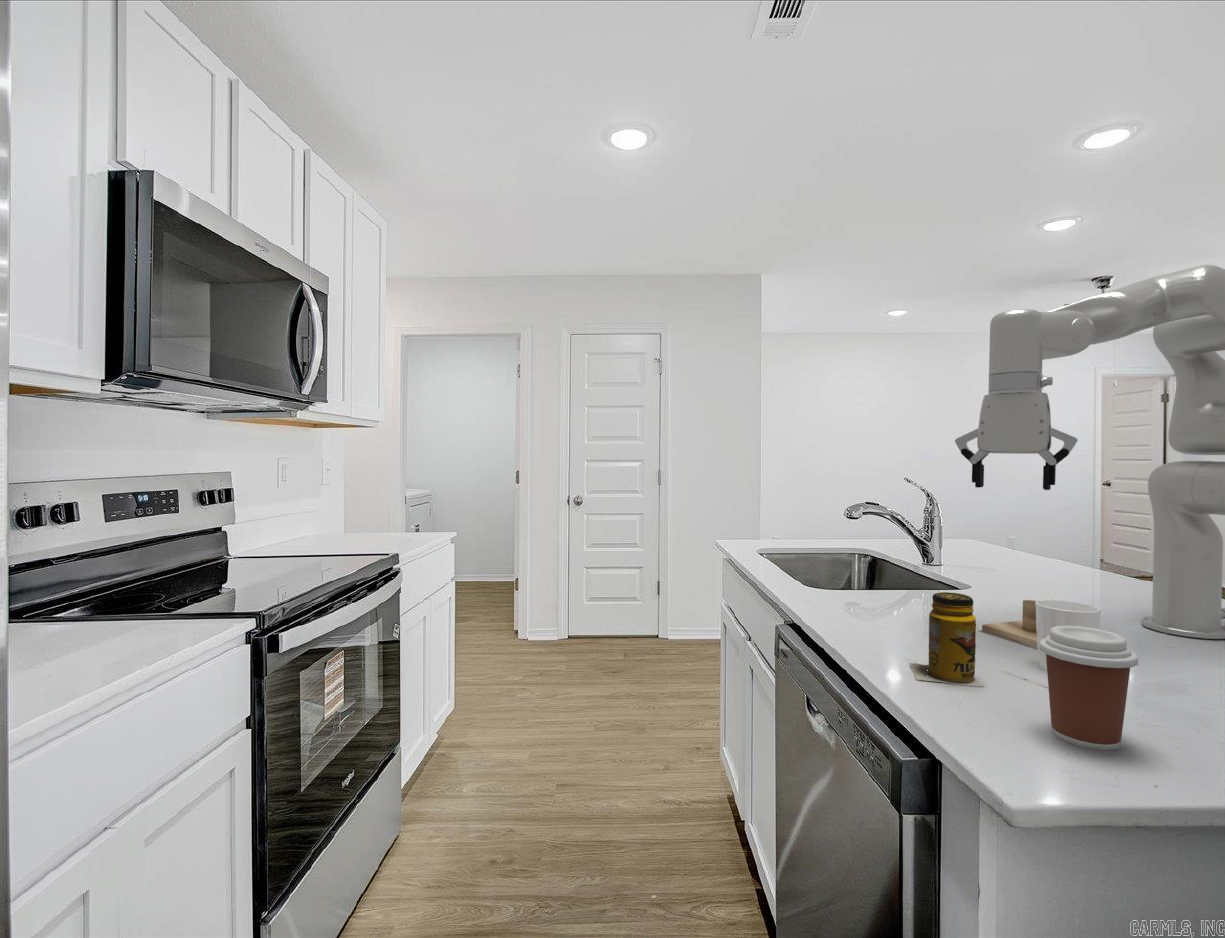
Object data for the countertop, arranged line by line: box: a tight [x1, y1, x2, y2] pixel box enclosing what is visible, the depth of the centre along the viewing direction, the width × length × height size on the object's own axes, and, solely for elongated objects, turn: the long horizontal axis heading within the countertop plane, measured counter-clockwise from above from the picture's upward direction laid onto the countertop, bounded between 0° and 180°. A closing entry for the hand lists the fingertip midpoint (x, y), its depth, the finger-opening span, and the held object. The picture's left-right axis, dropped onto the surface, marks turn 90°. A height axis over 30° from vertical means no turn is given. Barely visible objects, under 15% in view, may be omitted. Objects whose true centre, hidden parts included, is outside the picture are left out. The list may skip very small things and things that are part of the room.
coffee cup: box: [1039, 626, 1139, 751], centre depth 72 cm, size 9×9×12 cm
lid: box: [981, 599, 1037, 648], centre depth 111 cm, size 11×11×6 cm
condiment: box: [909, 591, 983, 688], centre depth 92 cm, size 7×8×12 cm
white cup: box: [1035, 599, 1101, 671], centre depth 94 cm, size 8×8×10 cm
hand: (1012, 488), depth 105 cm, fingers open, 9 cm apart
